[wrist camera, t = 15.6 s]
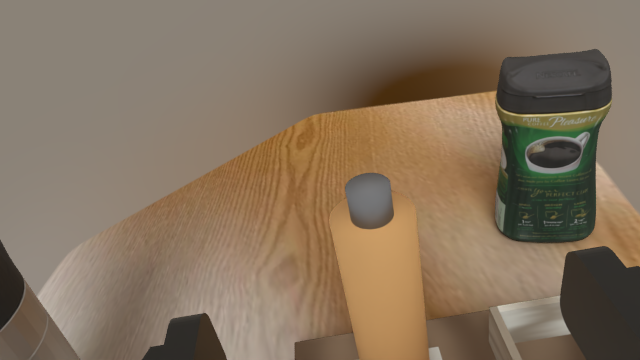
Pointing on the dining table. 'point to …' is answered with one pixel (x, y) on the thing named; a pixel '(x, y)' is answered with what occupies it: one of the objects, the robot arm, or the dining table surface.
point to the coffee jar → (550, 144)
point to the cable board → (477, 336)
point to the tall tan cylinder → (381, 269)
